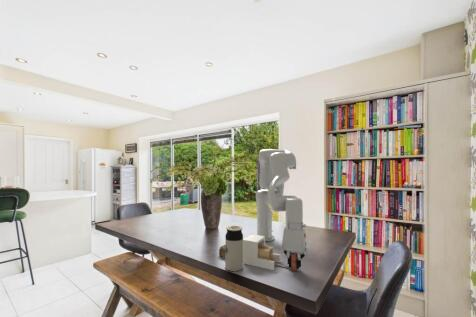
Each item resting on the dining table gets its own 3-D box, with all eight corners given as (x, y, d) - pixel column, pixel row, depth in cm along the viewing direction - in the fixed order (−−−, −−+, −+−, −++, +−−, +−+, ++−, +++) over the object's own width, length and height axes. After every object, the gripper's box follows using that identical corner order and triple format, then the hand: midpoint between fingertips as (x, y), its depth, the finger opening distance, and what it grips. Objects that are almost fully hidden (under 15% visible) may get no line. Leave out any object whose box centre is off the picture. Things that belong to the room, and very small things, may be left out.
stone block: (225, 253, 120) (225, 243, 121) (242, 258, 113) (242, 248, 114) (218, 256, 116) (218, 246, 116) (235, 262, 109) (235, 251, 109)
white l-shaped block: (252, 255, 116) (252, 234, 117) (280, 261, 109) (280, 238, 109) (242, 263, 107) (243, 239, 107) (273, 270, 100) (273, 244, 100)
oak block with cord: (257, 259, 112) (257, 244, 112) (299, 267, 102) (299, 252, 103) (252, 263, 107) (252, 248, 107) (296, 273, 97) (295, 256, 98)
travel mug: (242, 264, 106) (242, 225, 107) (243, 271, 98) (243, 229, 99) (225, 264, 106) (225, 225, 107) (225, 271, 98) (225, 229, 99)
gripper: (314, 226, 101) (314, 267, 100) (279, 221, 109) (279, 260, 108) (311, 229, 94) (311, 274, 93) (274, 225, 102) (274, 266, 101)
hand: (294, 266), depth 101 cm, fingers closed on oak block with cord, 3 cm apart
